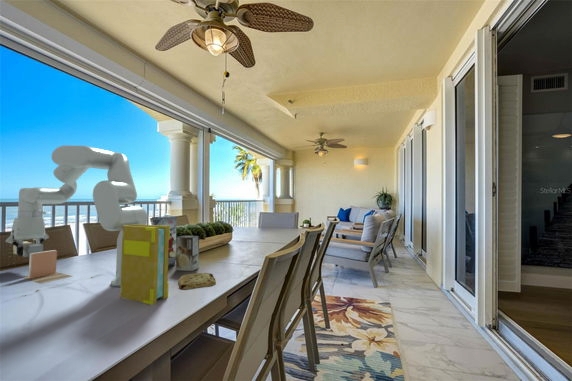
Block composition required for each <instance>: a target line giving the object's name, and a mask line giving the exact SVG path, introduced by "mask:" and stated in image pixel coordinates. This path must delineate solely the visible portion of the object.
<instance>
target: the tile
mask: <svg viewBox="0 0 572 381" xmlns="http://www.w3.org/2000/svg"><path fill="white" fill-rule="evenodd" d="M57 258H58V250H56V249H53V250H45V251H44V250H43V252H37V253H30V258H29V259H28V260H29V261H28V262H29V263H28V276H29V278H35V277H40V276H45V275H49V274H54V273H56V272H57Z"/></svg>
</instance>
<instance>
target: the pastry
mask: <svg viewBox="0 0 572 381" xmlns="http://www.w3.org/2000/svg"><path fill="white" fill-rule="evenodd" d="M216 281H217V280H216V278H215V277H214V274H213V273H209V272H199V273H198V272H197V273H191V274H183V275H181V276H180V277H179V278H178V286H179V287H178V288H179V289H180V290H190V289H199V288H206V287H213V286H215V285H216V284H217V282H216Z"/></svg>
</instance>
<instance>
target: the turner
mask: <svg viewBox="0 0 572 381" xmlns="http://www.w3.org/2000/svg"><path fill="white" fill-rule="evenodd" d="M12 245H13V244H12ZM22 247H23V256H22V257H25V258H29V259H30V253H37V252H44V244H41V243H40V244H36V243H34V242H32V241H31V242H29V241H26V240H24V241H23V244H22ZM12 254H13V255H17V256H18V254H17V247H16V246H15V245H13V247H12Z"/></svg>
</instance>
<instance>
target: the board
mask: <svg viewBox="0 0 572 381" xmlns="http://www.w3.org/2000/svg"><path fill="white" fill-rule="evenodd" d="M71 277H73V275H71V274H65V273H61V272H59V271H56V273H54V274H49V275H45V276H40V277H35V278H29V275H24V276H21V278H22V279H25V280H29V281H32V282H33V283H34V282H35V283H38V284H45V283H51V282H54V281H58V280H62V279H67V278H71Z"/></svg>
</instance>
